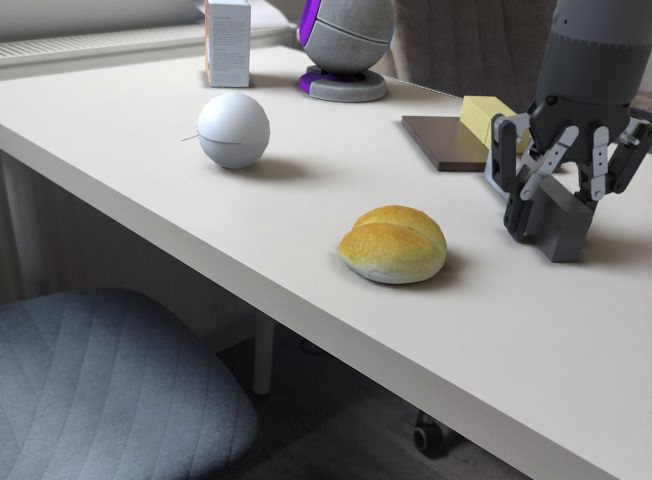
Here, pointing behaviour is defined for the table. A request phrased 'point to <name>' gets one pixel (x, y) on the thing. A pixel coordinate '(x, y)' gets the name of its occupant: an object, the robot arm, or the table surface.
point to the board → (450, 143)
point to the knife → (553, 218)
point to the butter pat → (519, 146)
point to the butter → (481, 114)
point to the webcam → (345, 48)
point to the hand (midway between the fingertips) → (543, 234)
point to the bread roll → (394, 245)
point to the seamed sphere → (233, 130)
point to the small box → (227, 42)
